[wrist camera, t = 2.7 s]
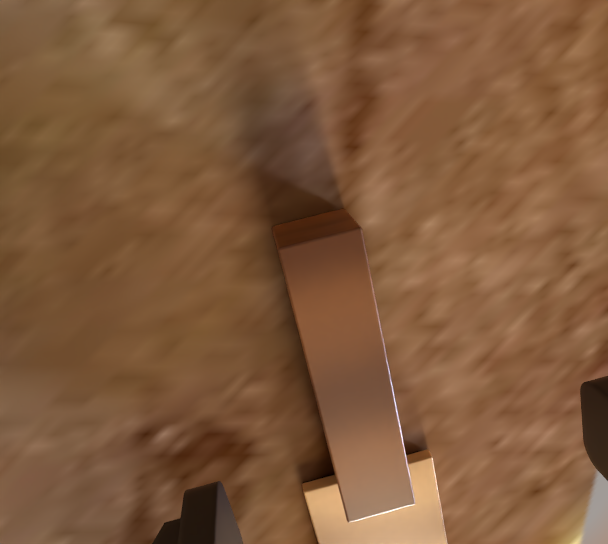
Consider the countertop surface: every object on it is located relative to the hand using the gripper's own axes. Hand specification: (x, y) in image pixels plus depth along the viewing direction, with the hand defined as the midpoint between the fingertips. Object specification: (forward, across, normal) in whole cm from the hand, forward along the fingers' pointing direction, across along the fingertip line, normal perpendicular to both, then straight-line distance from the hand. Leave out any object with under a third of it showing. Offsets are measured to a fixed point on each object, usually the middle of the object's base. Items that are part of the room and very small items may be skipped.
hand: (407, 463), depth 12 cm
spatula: (+7, 0, +4) cm, 8 cm away
